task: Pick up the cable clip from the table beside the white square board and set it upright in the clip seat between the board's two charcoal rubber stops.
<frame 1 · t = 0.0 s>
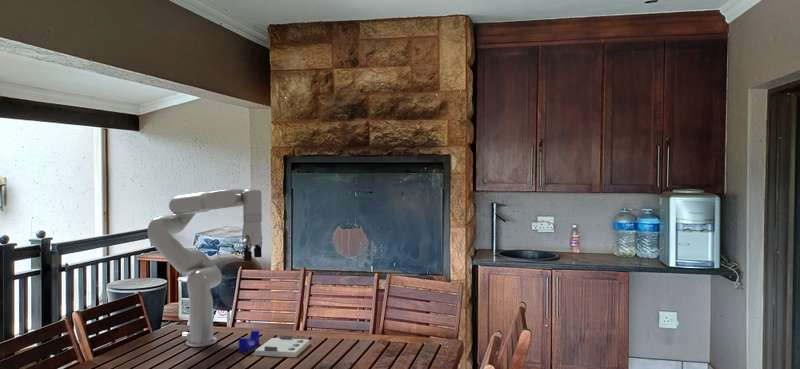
hand: (252, 258, 228), 37 cm above the table, tool pointing down, fingers open, 9 cm apart
white square board: (283, 349, 223), on the table
cable clip: (247, 349, 225), on the table
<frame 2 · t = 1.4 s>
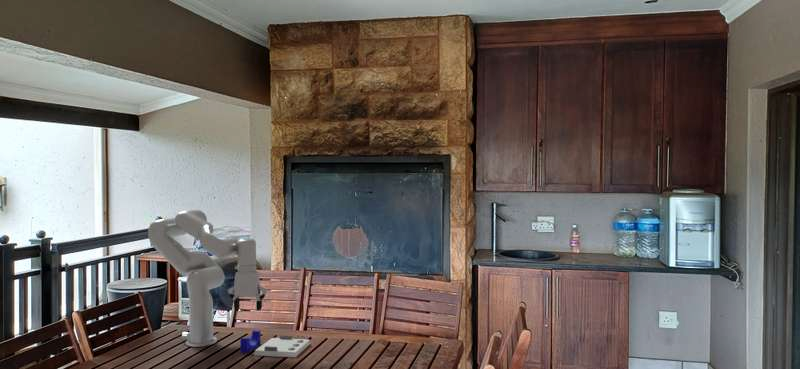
hand: (248, 309, 225), 16 cm above the table, tool pointing down, fingers open, 9 cm apart
nothing on the table moved.
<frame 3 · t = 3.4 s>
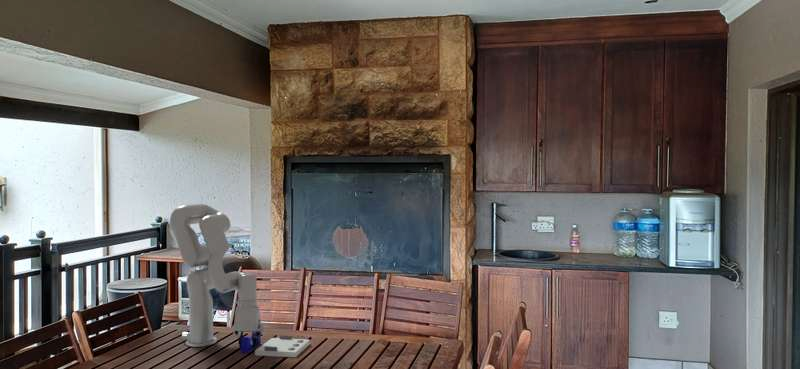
hand: (248, 346, 225), 1 cm above the table, tool pointing down, fingers open, 5 cm apart
cable clip: (249, 348, 225), on the table, touching gripper
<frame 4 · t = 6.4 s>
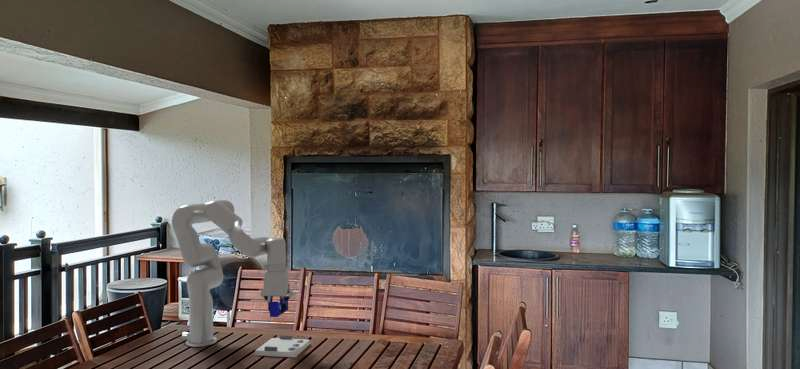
hand: (277, 311, 223), 16 cm above the table, tool pointing down, fingers closed on cable clip, 4 cm apart
cable clip: (277, 313, 224), point 15 cm above the table, touching gripper
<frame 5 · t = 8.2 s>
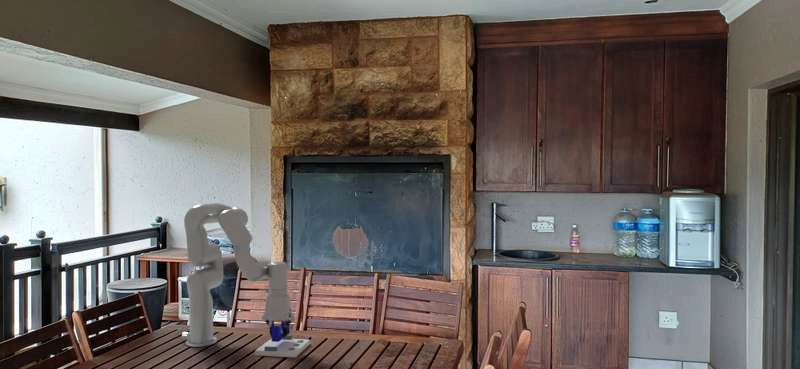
hand: (278, 335, 223), 6 cm above the table, tool pointing down, fingers closed on cable clip, 4 cm apart
cable clip: (279, 337, 224), point 5 cm above the table, touching gripper
when the fingers open (3 cm above the table, at t = 9.4 s): cable clip stays where it is, resting on white square board.
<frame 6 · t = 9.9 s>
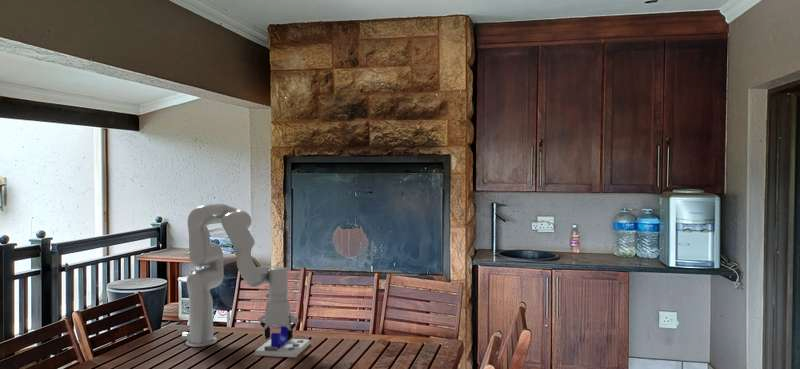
hand: (278, 338, 223), 4 cm above the table, tool pointing down, fingers open, 9 cm apart
cable clip: (278, 344, 224), point 2 cm above the table, touching white square board
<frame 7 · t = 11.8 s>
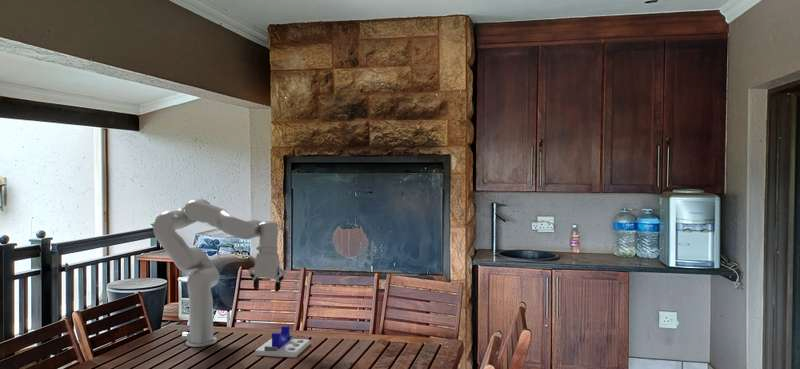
hand: (266, 290, 232), 23 cm above the table, tool pointing down, fingers open, 9 cm apart
nothing on the table moved.
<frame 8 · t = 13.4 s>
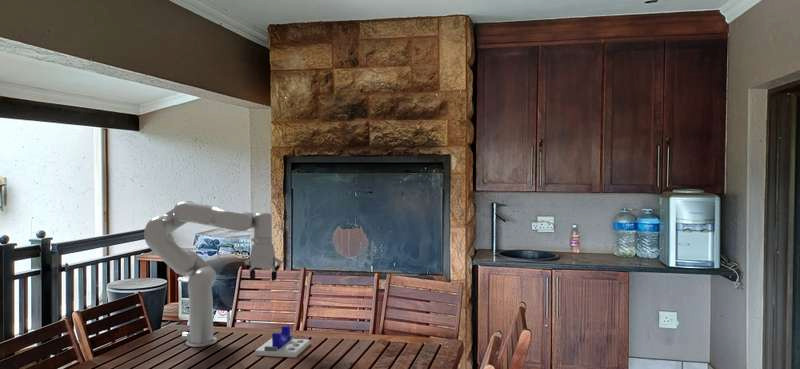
hand: (263, 280, 236), 26 cm above the table, tool pointing down, fingers open, 9 cm apart
nothing on the table moved.
at the end: cable clip 0.6 cm from the target spot on the white square board, point 1.8 cm above the white square board's base; cable clip tilted 0°; the gripper is holding nothing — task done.
